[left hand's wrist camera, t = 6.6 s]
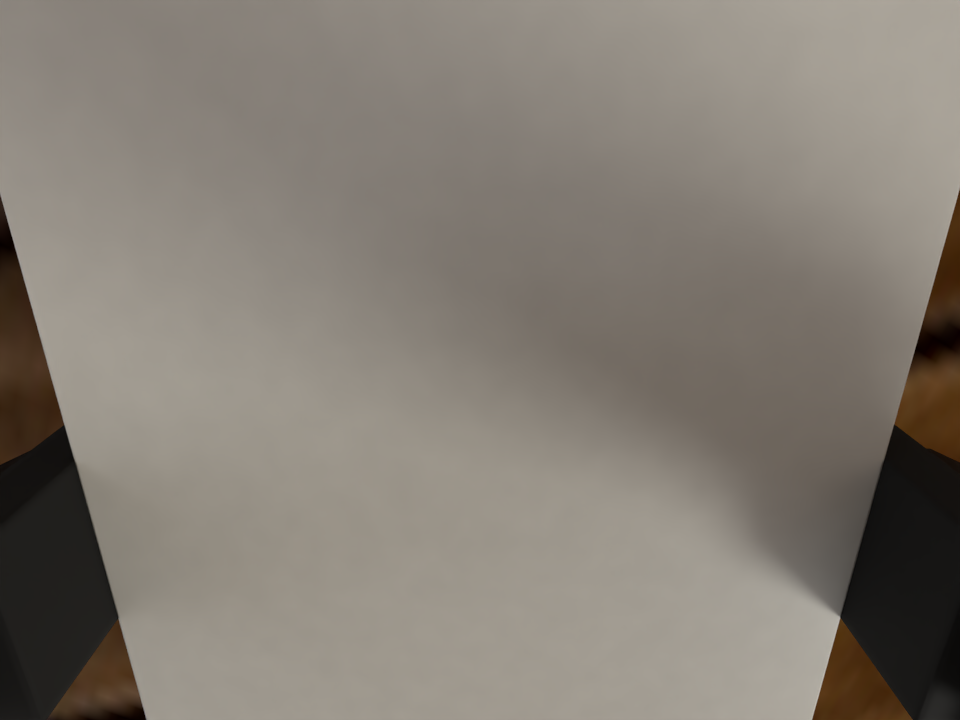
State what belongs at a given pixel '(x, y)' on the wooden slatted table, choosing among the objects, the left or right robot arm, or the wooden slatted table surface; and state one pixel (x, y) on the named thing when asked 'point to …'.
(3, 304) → the wooden slatted table surface
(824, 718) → the wooden slatted table surface
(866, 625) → the left robot arm
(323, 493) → the cabinet
